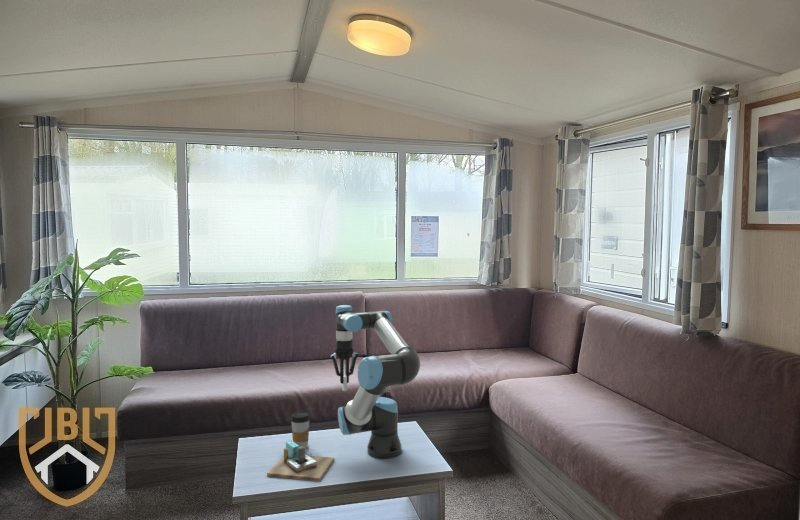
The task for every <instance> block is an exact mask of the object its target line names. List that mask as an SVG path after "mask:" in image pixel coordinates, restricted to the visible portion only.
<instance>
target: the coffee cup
mask: <svg viewBox="0 0 800 520" xmlns="http://www.w3.org/2000/svg"><path fill="white" fill-rule="evenodd" d="M310 420H311V418H310V415H309V412H307V411H297V412H293V413H292V414H291V417H290V421H291V422H290V423H291V432H292V441H293V442H294V443H296V444H297V445H299V447H300V446H304V447H305V450H306V449H307V448H308V446H309V445H308V444H309V437H310V436H309V434H310V433H309V432H310Z"/></svg>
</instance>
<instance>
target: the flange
mask: <svg viewBox="0 0 800 520" xmlns="http://www.w3.org/2000/svg"><path fill="white" fill-rule="evenodd" d="M298 447H299V445H297V444H296V443H294V442H293V440H287V441H286V442H285V448H288V458H290V459H289V460H287V464H288V465H289V466H290V467H291V468H293V469H294V470H295V471H297V472H298V471H301V470H304V469H307V468H310V467H313V466H316V465H317V461H315V460H314V459H312V458H311V457H309V456H310V455H308V454H306V453H305V463H302V464H298Z"/></svg>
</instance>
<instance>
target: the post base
mask: <svg viewBox="0 0 800 520" xmlns="http://www.w3.org/2000/svg"><path fill="white" fill-rule="evenodd" d="M305 454H306V449H305V447H304V446H300V447H298V464H302V463H305ZM308 456H309V457H311V458H312V459H314V460H315V461H317V465H316V466H313V467H310V468H307V469H304V470H301V471H298V472H297V471H295V470H294V469H293V468H291V467H290V466H289V465H288V464H287V460H289V459H290V458H288V448H286V447H284V448H283V456H282V457H280V458H279V460H278V461H277V462H276V463H275V464H274V465H273V466H272V467H271V468H270V469H269V470H268V472H267V473H266V476H267V477H270V478H271V477H272V478H281V479H282V478H284V479H295V480H306V481H315V482H321V480H322V479H323V478H324V476H325V475H326V473H327V472H328V470H329V469H330V468H331V466H332V465H333V463H334V462H335V457H328V456H319V455H308Z"/></svg>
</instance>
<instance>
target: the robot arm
mask: <svg viewBox="0 0 800 520" xmlns="http://www.w3.org/2000/svg"><path fill="white" fill-rule="evenodd" d="M334 314H335V339H336V340H335V351H334V353H333V354H330V355H329V356H330V358H331V359H332V363H333V366H334V370H335V375H336V376H338V377H339V382H340V384H342V385H341V389H342V391H343V392H347V390H348V383H350V376H351V375H353V374H354V370H355V365H356V361H357V359H358V357H359V354H358V352H355V351H354V349H353V344H354V343H353V333H357V332H358V331H362V330H364V331H365V330H374V331H375V332H376V334H377V335H378V337H379V339H380V340H381V342H382V343H383V344H384V346H385V347H386V349H387V351H388V352H389V353H390V354H383V355H369V356H366V357H363V358H362V359H361V360H360V361H359V364H358V367H357V369H358V370H357V381H358V384H359V387H358V389H357V391H356V393H355V395H354V397H353V399H351V400H350V401H348V402H347V404H346V405H345V406H343V405H342V406H340V407H338V409H337V420H338V427H339V430H340V432H341V434H342V435H345V436H349V435H350V436H351V435H354V434H361V433H367V432H370V433H371V434H370V436H369V437H370V438H369V440H368V442H367V447H366V448H367V450H366V451H367V454H368V455H369V456H371V457H374V458H377V459H390V458H395V457H397V456H399V455H400V454H401V453H402V451H403V450H402V443H401V440H400V436H399V432H398V430H399V429H398V426H399V425H398V421H399V419H398V417H399V411H398V403H397V402H396V400H394V399H392V398H390V397H384V396H380V395H384V394H385V393H386V392H388V389H389V388H390V387H395V386H403V385H407V384H409V383H411V382H412V381H414V380H415V379H416V378H417V376H418V374H419V372H420V368H421V360H420V357H419V354H418V352H417V351H416V350H415V349H414V347H412V346H409V345H408V343H407V342H406V341H405V340H404V338H403V337H402V336H401V334H400V333H399V332H398V331H397V329H396V328H395V326H394V325H393V324H392V323H393V316H392V314H391V312H390V311H389V310H379V311H366V312H365V311H364V312H363V311H362V312H354V311H353V306H352V305H348V304H342V305H341V304H340V305H338V306H336V307H335V313H334ZM351 357H352V359H351V363H350V358H351ZM337 358H338V359H339V367H338V362H337ZM344 365H345V367H344ZM344 369H345V370H344ZM344 372H345V373H344ZM344 374H345V375H344Z"/></svg>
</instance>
